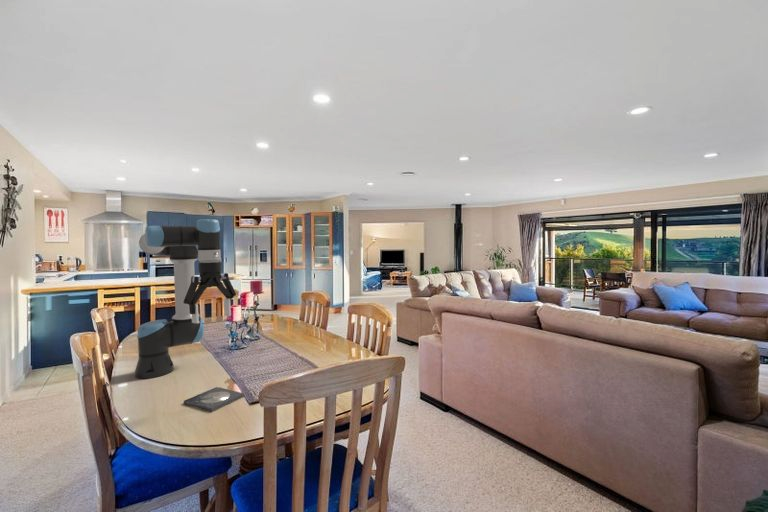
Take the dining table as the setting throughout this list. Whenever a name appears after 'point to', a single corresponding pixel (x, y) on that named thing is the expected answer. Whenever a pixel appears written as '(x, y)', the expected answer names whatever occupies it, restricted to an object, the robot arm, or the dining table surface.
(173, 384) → the dining table surface
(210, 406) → the motor plate
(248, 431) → the dining table surface
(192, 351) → the dining table surface
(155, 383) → the dining table surface
